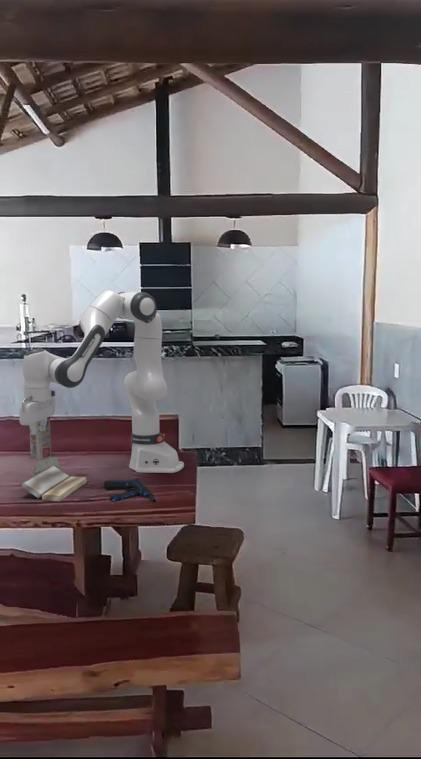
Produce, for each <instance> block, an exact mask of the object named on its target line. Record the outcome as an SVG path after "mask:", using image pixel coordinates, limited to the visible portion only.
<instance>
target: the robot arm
mask: <svg viewBox="0 0 421 759" xmlns="http://www.w3.org/2000/svg"><path fill="white" fill-rule="evenodd" d="M118 318H119V319H123V320H124V319H125V320H129V321H133V324H134V337H133V355H132V356H133V360H134V362H135V366H136V370H134V371H131V372H129V373H128V374H126V376H125V378H124V381H123V386H124V388H125V391H126V393H127V397H128V401H129V402H128V404H129V407H130V411H131V412H130V413H131V429H132V432H131V435H130V442H131V456H130V461H129V464H128V467H129V469H131V470H134V471H135V472H136V473H147V474H148V473H152V474H155V473H162V474H163V473H164V474H165V473H166V474H174V473H177V472H180V471H181V470H182V469H184V468H185V463H184V462H183V461H181V460H180V459H179V455H178V452H177V450H176V449H175V448H173V446H171V445H169V444H168V443H167V442H165V437H166V436H165V435H166V433H161V431H160V412H159V410H158V408H157V405H156V402H159V401H161V400H162V399H164V398H165V397H166V395H167V393H168V384H167V382H166V380H165V377H164V376H165V375H164V370H163V363H162V347H163V346H162V344H163V342H162V341H163V324H162V323H163V322H162V316H161V314H160V313H159V312H158V310H157V303H156V300H155V298H154V297H153V296H152V295H151V294H149V293H147V292H145V291H137V290H136V291H135V290H132V291H122V292H121V291H120V292H116V291H114V290H112V289H111V290H110V289H107V290H105V291H103V292H102V293H100V294H99V295H98V296H97V297H95V299H94V300H93V301H92V302H91V303H90V305H89V306H88V307H87V308H86V309H85V311H84V312H83V314H82V316H81V317H80V320H79V325H80V328H81V331H82V332H83V333H84V337H83V339H82V341H81V342H80V344H79V346H78V347H77V349H76V351H75V352H74V353H73V355H72V356H70V357H68V358H65V357H63V356H62V357H61V356H58V355H56V354H53V353H50V352H49V351H47V350H46V349H45V348H37V349H31V350H28V351H27V352H25V354H24V355H23V362H22V374H23V379H24V384H23V401H22V403H21V404H20V407H19V416H18V417H19V424H20V425H21V426H28V427H29V430H30V429H31V434H32V435H36V434H37V433H38V429H36V426H35V425H36V422H38V421H41V423H40V426H39V431H44V430H45V426H46V422H47V418H48V417H50V418H51V417H52V416H54V415H55V413H56V398H55V397H56V394H57V392H56V390H54V389H52V388H50V384H51V383H54V384H57V385H61V386H63V387H65V388H68V389H73V388H76V387H78V386H79V385H80V384H81V383H83V381H84V379H85V377H86V376H85V375H86V373H87V369H88V367H89V365H90V363H91V361H92V360H93V359H94V357H95V355H96V353H97V352H98V350H99V349H100V347H101V345H102V344H103V341H104V339H105V337H106V334H107V333H108V331H110V329H111V327H112V326H113V324H115V322H116V321H117V319H118Z"/></svg>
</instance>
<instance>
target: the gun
mask: <svg viewBox="0 0 421 759" xmlns="http://www.w3.org/2000/svg"><path fill="white" fill-rule="evenodd" d="M103 486H104V488H105V489H106V490H108V491H110V490H126V492H122V493H117V494H112V495H109V500H110V501H112V502H118V501H123V500H127V499H130V498H134V497H138V496H140V498H142V497H144V499H149V500H150V501H151V502H152V503H153V501H155V502H156V501H157V499H156V498H155V497H154V494H153V492H152V491H150V490H149V488H147V487H146V485H144V483H143V482H142V480H140V479H138V478H136V479H135V478H133V479H128V480H117V479H115V480H113V479H112V480H110V479H109V480H106V481H104V482H103Z"/></svg>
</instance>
